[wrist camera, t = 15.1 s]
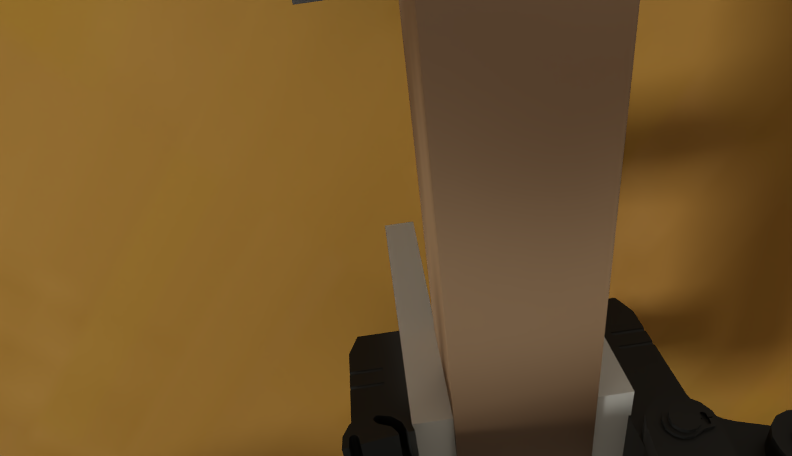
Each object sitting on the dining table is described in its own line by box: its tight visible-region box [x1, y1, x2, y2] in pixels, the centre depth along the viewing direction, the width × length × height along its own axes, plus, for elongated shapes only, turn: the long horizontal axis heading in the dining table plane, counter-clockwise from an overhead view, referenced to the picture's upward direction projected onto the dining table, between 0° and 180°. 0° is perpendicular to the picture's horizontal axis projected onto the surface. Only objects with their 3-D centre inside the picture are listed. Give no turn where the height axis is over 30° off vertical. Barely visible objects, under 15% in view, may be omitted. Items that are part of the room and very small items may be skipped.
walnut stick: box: [399, 0, 640, 456], centre depth 12 cm, size 24×2×2 cm, turn 7°
